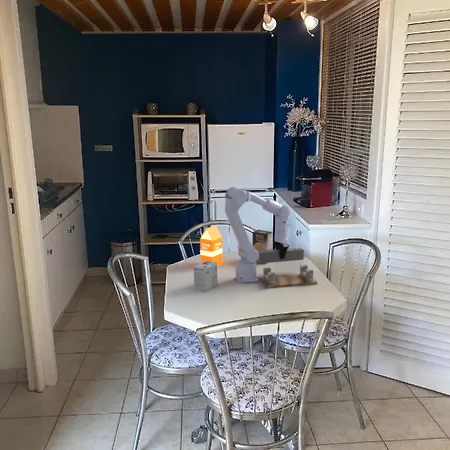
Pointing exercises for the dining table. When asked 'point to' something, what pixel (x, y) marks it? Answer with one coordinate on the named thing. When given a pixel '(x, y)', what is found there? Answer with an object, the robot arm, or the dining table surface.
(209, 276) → the light bulb box
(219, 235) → the orange juice
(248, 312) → the dining table surface
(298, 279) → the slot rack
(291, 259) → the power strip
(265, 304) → the dining table surface
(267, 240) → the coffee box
